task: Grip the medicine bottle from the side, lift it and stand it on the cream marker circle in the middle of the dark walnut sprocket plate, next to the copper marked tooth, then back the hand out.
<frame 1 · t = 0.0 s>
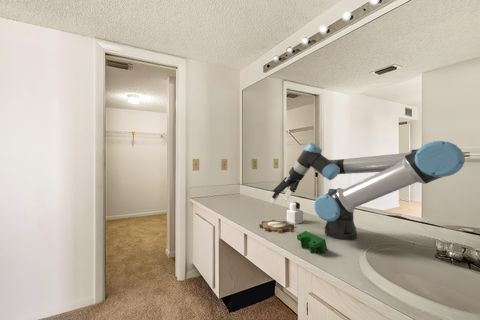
hand: (278, 200, 117), 15 cm above the worktop, tool tilted 35°, fingers open, 13 cm apart
clamp: (310, 250, 88), on the worktop
sprocket plate: (276, 227, 118), on the worktop
medicine bottle: (294, 222, 129), on the worktop
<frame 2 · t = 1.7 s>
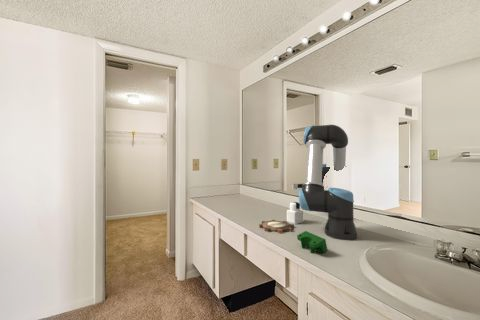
hand: (301, 188, 136), 20 cm above the worktop, tool horizontal, fingers open, 13 cm apart
nothing on the worktop moved.
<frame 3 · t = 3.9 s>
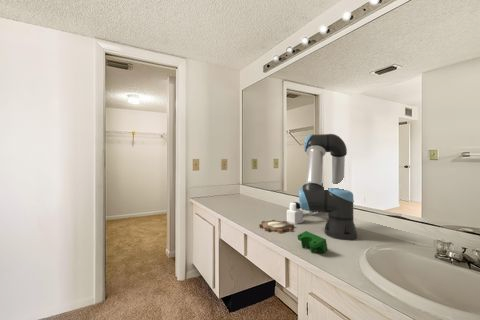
hand: (299, 209, 133), 6 cm above the worktop, tool horizontal, fingers open, 13 cm apart
nothing on the worktop moved.
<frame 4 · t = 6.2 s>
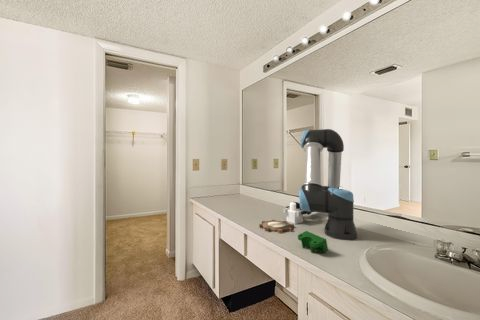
hand: (290, 212, 125), 7 cm above the worktop, tool horizontal, fingers closed on medicine bottle, 9 cm apart
medicine bottle: (294, 222, 129), on the worktop, touching gripper
everything else where it was.
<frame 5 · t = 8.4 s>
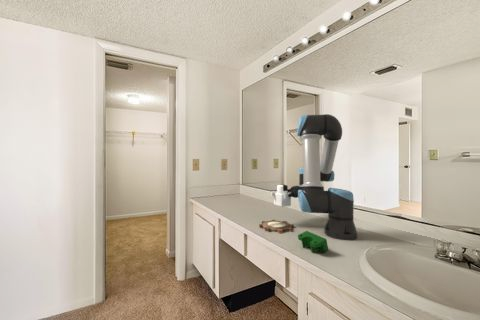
hand: (277, 194, 120), 18 cm above the worktop, tool horizontal, fingers closed on medicine bottle, 9 cm apart
medicine bottle: (282, 205, 123), point 11 cm above the worktop, touching gripper
everything else where it was.
when the fingers open (9 cm above the worktop, at t = 10.9 s): medicine bottle drops 1 cm, resting on sprocket plate.
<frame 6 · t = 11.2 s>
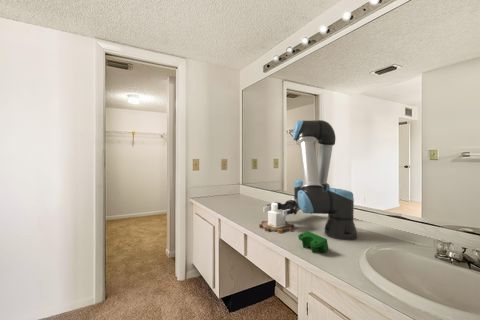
hand: (273, 211, 115), 10 cm above the worktop, tool horizontal, fingers open, 12 cm apart
medicine bottle: (276, 224, 118), point 2 cm above the worktop, touching sprocket plate
everything else where it was.
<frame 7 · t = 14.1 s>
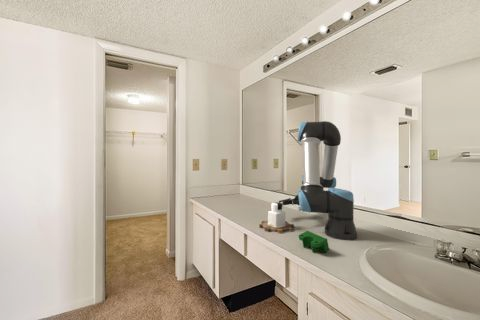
hand: (287, 207, 125), 9 cm above the worktop, tool horizontal, fingers open, 13 cm apart
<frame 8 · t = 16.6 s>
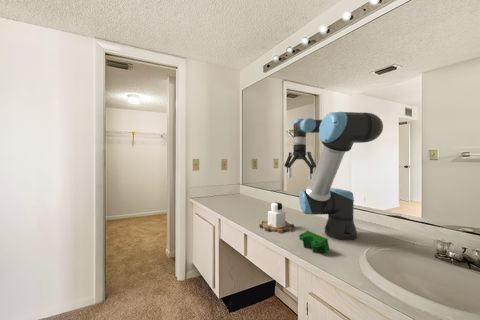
hand: (299, 178, 129), 27 cm above the worktop, tool pointing down, fingers open, 13 cm apart
at the end: medicine bottle 0.1 cm off-centre on the sprocket plate, point 1.5 cm above the sprocket plate's base; medicine bottle tilted 0°; the gripper is holding nothing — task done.
